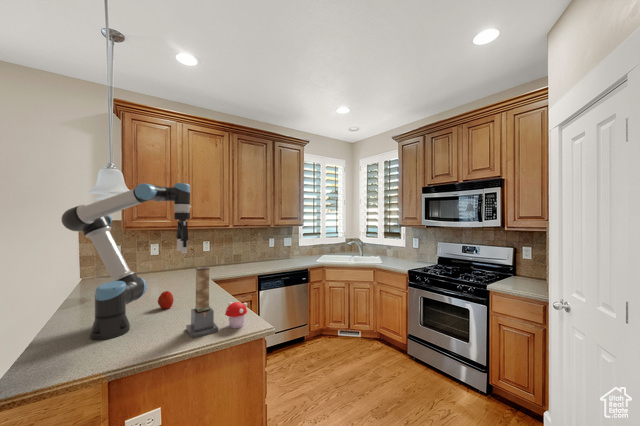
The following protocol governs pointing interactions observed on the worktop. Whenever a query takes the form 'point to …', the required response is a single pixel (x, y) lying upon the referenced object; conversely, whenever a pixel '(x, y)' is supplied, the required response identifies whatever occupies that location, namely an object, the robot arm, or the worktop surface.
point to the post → (202, 289)
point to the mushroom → (236, 314)
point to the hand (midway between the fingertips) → (181, 252)
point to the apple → (165, 300)
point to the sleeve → (201, 323)
